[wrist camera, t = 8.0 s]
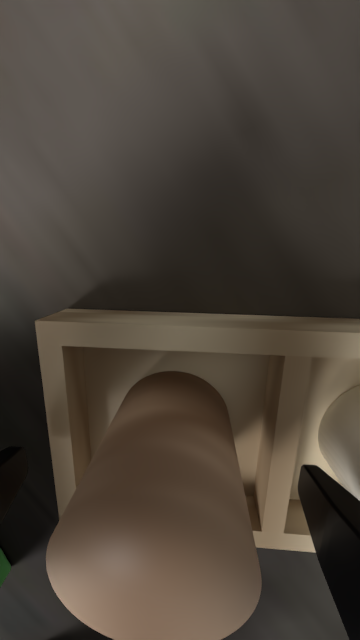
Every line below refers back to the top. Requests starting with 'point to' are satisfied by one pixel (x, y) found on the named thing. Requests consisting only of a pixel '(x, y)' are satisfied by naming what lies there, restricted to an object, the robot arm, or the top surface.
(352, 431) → the cream egg
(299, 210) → the top surface
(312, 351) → the egg tray
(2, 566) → the ink box
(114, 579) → the brown egg
